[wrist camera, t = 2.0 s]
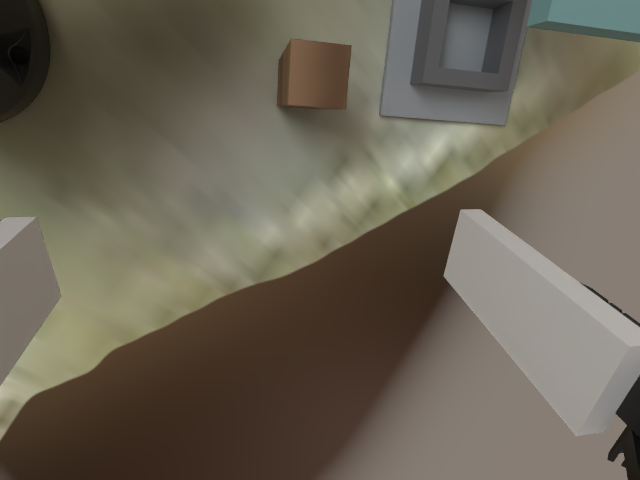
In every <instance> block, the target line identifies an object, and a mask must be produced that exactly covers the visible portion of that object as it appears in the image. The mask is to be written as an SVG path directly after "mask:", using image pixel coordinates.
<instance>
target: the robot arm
mask: <svg viewBox="0 0 640 480" xmlns="http://www.w3.org/2000/svg"><path fill="white" fill-rule="evenodd" d="M49 59H50V44H49V36H48V30H47V26H46V22H45V19H44V16H43V13H42V11H41V8H40V6H39V4H38V2H37V0H0V122H1V121H3V120H6V119H8V118H11V117H13V116H14V115H16V114H18V113H19V112H21V111H22V110H23V109H25V108H26V107H27V106H28V105H29V104H30V103H31V102H32V101H33V100H34V98H35V97H36V96H37V94H38V93H39V91H40V89H41V88H42V86H43V83H44V81H45V78H46V75H47V71H48V67H49ZM444 277H445V278H446V280H447V281H448V282H449V283H450V284H451V286H452V287H453V288H454V289H455V290H456V292H457V293H458V294H459V295H460V297H461V298H462V299H463V300H464V301H465V303H466V304H467V305H468V306H469V307H470V309H471V310H472V311H473V312H474V313H475V315H476V316H477V317H478V318H479V319H480V321H481V322H482V323H483V324H484V326H485V327H486V328H487V329H488V330H489V332H490V333H491V334H492V335H493V336H494V338H495V339H496V340H497V341H498V342H499V344H500V345H501V346H502V347H503V348H504V350H505V351H506V352H507V353H508V354H509V356H510V357H511V358H512V359H513V361H514V362H515V363H516V364H517V365H518V367H519V368H520V369H521V370H522V371H523V373H524V374H525V375H526V376H527V377H528V379H529V380H530V381H531V382H532V383H533V384H534V386H535V387H536V388H537V390H538V391H539V392H540V393H541V394H542V396H543V397H544V398H545V399H546V400H547V402H548V403H549V404H550V405H551V406H552V408H553V409H554V410H555V411H556V412H557V414H558V415H559V416H560V417H561V419H562V420H563V421H564V422H565V423H566V425H567V426H568V427H569V428H570V429H571V431H572V432H573V433H574V434H575V435H576V436H582V435H589V434H596V433H602V432H605V430H606V429H607V427H608V426H609V424H610V423H611V421H612V419H613V418H614V416H615V415H616V414H617V415H618V416H619V417H620V418H621V419H622V420H623V421H624V422H625V423H626V424H627V427H626V428H625V430H624V431H623V432H622V434H621V435H620V437H619V438H618V440H617V441H616V443H615V444H614V446H613V447H612V449H611V450H610V452H609V454H608V460H610V461H612V462H614V460H615V459H616V457H617V456H618V454H619V453H624V457H625V460H624V462H623V463H622V465H621V466H623V467H625V468H626V471H627V477H628V480H640V323H638V322H637V321H636V320H634V319H633V318H632V317H630V316H629V315H627V314H626V313H622V310H621V309H619V308H618V307H617V306H615V305H613V304H612V303H609V302H608V300H607V299H606V298H604V297H603V296H601V295H600V294H599V293H597V292H596V291H595V290H593V289H592V288H590V287H588V286H586V285H584V284H582V283H580V282H578V281H577V280H575V279H574V278H573V277H571V276H570V275H568V274H567V273H566V272H564V271H563V270H562V269H560V268H559V267H558V266H556V265H555V264H554V263H552V262H551V261H550V260H548V259H547V258H546V257H544V256H543V255H542V254H540V253H539V252H537V251H536V250H535V249H533V248H532V247H531V246H529V245H528V244H527V243H525V242H524V241H523V240H521V239H520V238H519V237H517V236H516V235H514V234H513V233H512V232H511V231H509V230H508V229H506V228H505V227H504V226H502V225H501V224H500V223H498V222H497V221H496V220H494V219H493V218H492V217H490V216H489V215H488V214H486V213H485V212H484V211H482V210H480V209H475V210H473V209H472V210H461V211H460V215H459V219H458V222H457V227H456V230H455V234H454V238H453V242H452V246H451V250H450V253H449V257H448V261H447V265H446V269H445V273H444ZM60 298H61V293H60V290H59V287H58V283H57V280H56V277H55V274H54V271H53V268H52V265H51V261H50V258H49V255H48V252H47V249H46V246H45V243H44V239H43V236H42V233H41V230H40V227H39V224H38V221H37V217H5V218H4V219H3V220H1V221H0V385H1V384H2V383H3V381H4V380H5V378H6V377H7V375H8V374H9V372H10V371H11V369H12V368H13V366H14V365H15V363H16V362H17V361H18V359H19V358H20V356H21V355H22V353H23V352H24V350H25V349H26V347H27V346H28V344H29V343H30V341H31V340H32V339H33V337H34V336H35V334H36V333H37V331H38V330H39V328H40V327H41V325H42V324H43V322H44V321H45V319H46V318H47V317H48V315H49V314H50V312H51V311H52V309H53V308H54V306H55V305H56V303H57V302H58V300H59V299H60Z"/></svg>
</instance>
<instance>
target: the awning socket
mask: <svg viewBox="0 0 640 480" xmlns="http://www.w3.org/2000/svg"><path fill="white" fill-rule="evenodd" d="M527 27H531V28H539V29H546V30H553V31H561V32H568V33H576V34H583V35H590V36H598V37H605V38H612V39H620V40H627V41H635V42H640V0H393V1H392V9H391V18H390V26H389V35H388V43H387V51H386V60H385V68H384V77H383V85H382V94H381V102H380V111H379V115H383V116H395V117H407V118H420V119H432V120H444V121H457V122H469V123H481V124H494V125H506V120H507V116H508V111H509V107H510V102H511V97H512V93H513V88H514V84H515V79H516V75H517V70H518V66H519V61H520V57H521V52H522V47H523V43H524V38H525V34H526V29H527Z"/></svg>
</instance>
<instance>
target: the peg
mask: <svg viewBox="0 0 640 480" xmlns="http://www.w3.org/2000/svg"><path fill="white" fill-rule="evenodd" d="M350 57H351V45H342V44H334V43H325V42H316V41H307V40H299V39H291V40H290V42H289V43H288V45H287V47H286V49H285V50H284V52H283V54H282V56H281V58H280V59H279V67H278V93H277V106H285V107H297V108H309V109H346V100H347V89H348V78H349V68H350Z"/></svg>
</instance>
